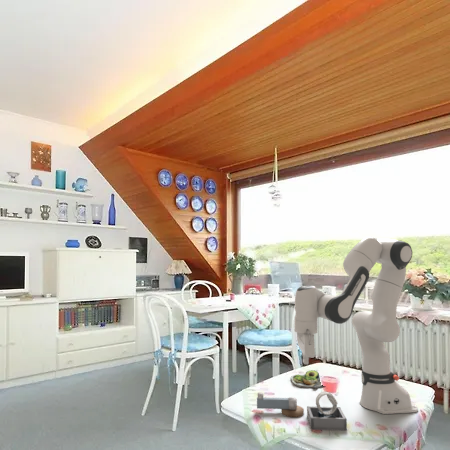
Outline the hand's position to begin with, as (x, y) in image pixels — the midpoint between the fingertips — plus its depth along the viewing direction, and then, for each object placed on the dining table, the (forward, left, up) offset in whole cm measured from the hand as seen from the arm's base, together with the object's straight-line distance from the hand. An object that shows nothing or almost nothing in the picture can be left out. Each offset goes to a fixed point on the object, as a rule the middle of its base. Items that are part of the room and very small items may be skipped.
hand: (305, 363), depth 150 cm
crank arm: (+11, -9, -21) cm, 25 cm away
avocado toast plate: (-7, -47, -23) cm, 53 cm away
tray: (-7, 0, -22) cm, 24 cm away
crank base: (+5, -9, -22) cm, 25 cm away
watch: (-7, +1, -22) cm, 23 cm away
